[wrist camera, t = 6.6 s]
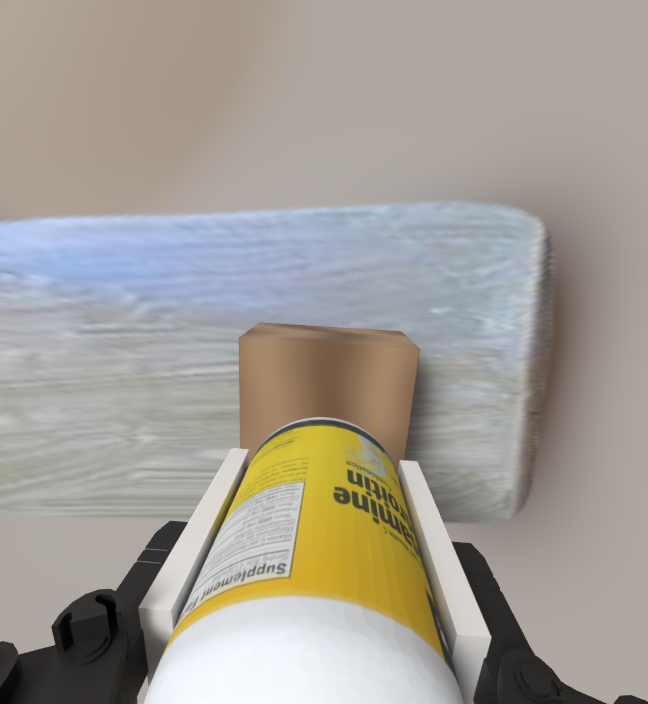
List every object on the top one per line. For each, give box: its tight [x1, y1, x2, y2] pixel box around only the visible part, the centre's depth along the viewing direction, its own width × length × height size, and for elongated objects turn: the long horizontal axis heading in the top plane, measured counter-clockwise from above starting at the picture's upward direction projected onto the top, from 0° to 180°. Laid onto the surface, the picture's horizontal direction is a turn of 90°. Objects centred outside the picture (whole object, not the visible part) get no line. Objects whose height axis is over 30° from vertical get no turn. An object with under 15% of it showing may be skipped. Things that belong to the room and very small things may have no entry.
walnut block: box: [239, 323, 420, 476], centre depth 21 cm, size 10×10×5 cm
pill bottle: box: [144, 417, 464, 704], centre depth 8 cm, size 6×6×12 cm
